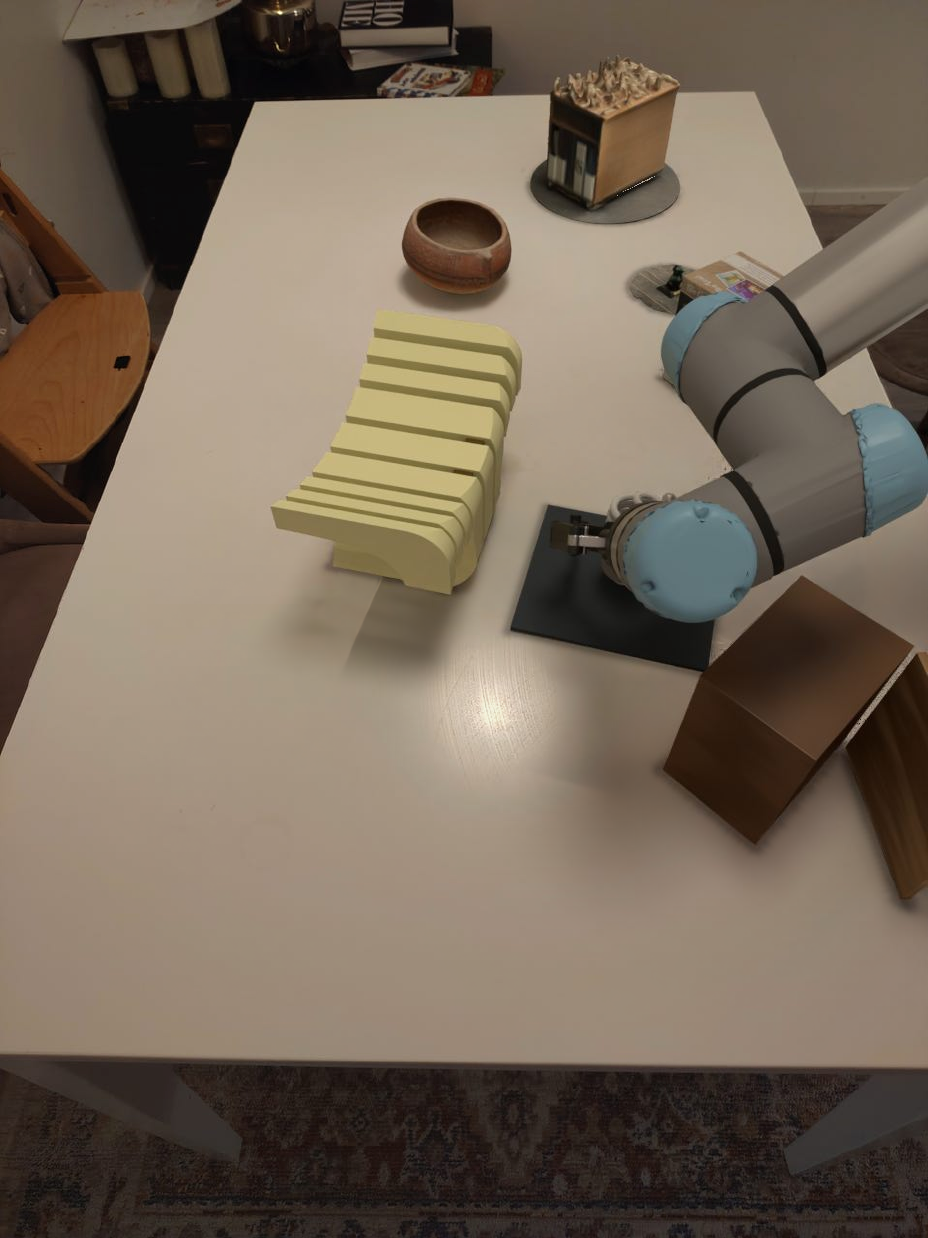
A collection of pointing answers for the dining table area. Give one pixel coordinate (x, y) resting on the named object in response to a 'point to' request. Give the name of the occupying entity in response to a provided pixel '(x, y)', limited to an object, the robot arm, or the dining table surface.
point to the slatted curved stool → (415, 453)
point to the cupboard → (780, 705)
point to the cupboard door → (898, 774)
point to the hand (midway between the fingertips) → (626, 535)
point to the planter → (609, 145)
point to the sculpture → (660, 286)
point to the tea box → (726, 281)
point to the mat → (600, 607)
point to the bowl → (457, 245)
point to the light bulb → (616, 511)
